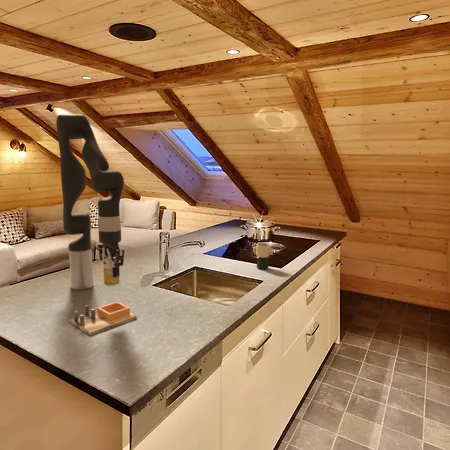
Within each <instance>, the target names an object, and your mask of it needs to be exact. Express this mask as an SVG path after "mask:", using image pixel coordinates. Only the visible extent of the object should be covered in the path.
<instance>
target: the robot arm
mask: <svg viewBox="0 0 450 450" xmlns="http://www.w3.org/2000/svg"><path fill="white" fill-rule="evenodd" d="M55 125H56V126H55V127H56V134H57V139H58V140H57V141H58V149H59V156H60V159H59V161H60V181H61V182H60V183H61V190H62V201H63V205H62V207H63V213H62V214H63V215H62V222H63V230H64V231H63V232H64V234H66V235H68V236H69V235H73V236H74V235H81V237H79V238H78V239H76V240H73V241H71V242H69V243H68V257H69V259H68V260H69V272H70V274H69V275H70V286H71V289H72V290H75V291H76V290H78V291H81V290H88V289H91V288H92V287H94V271H93V253H92V243H91V242H92V239H91V238H92V237H91V236H92V235H91V215H90V213H88V212H73V209H74V207H75V204H76V202H77V201H78V200H79V199H80V197H81V196H82V194H83V193H84V191H85V189H86V186H87V175H86V169H85V167H84V166H83V164H82V163H81V161H80V160H79V159H78V158H77V156H76V155H75V153H74V152H73V151H72V148H71V145H70V144H71V143H70V140H82V139H83V140H84V144H83V147H82V150H81V158H82V162H84V164H85V166H86V168H87V170H88V171H89V176H90V184H91V187H92V188H93V189H94V191H96V192H100V193H103V192H104V193H105V192H109V194H108V196H106V197H103V198H101V199H99V200H98V201H97V213H98V214H97V215H98V220H97V221H98V222H97V226H98V227H97V228H98V242H99V243H98V244H97V250H98V256H99V261H101V262H102V264H103V265H104V264H106V263H105V258H107V257H109V259H110V261H111V262H112V266H113V277H114V278H116V277H119V276H120V274H121V273H120V268H121V267H123V266H124V260H125V250H124V249H120V247H119V243H121V242H122V223H121V215H120V210H121V209H120V203H121V198H122V193H123V189H124V185H125V180H124V176H123V174H122V172H120V171H119V170H109V168H110V163H109V161H108V160H107V159H106V157H105V155H104V154H103V152H102V150H101V149H100V147H99V144H98V141H97V139H96V137H95V136H96V135H95V134H94V131H93V128H92V126H91V124H90V121H89V119H88V118H87V117H86V116H85V115H84V114H80V113H62V114H58V115H57V117H56V123H55ZM113 257H116V258H113ZM115 260H116V261H115Z"/></svg>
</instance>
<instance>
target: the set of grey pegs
mask: <svg viewBox="0 0 450 450" xmlns="http://www.w3.org/2000/svg"><path fill="white" fill-rule="evenodd" d="M95 311H96V309H95V308H92V309H91V308H90V305H88V304H86V305H84V314H80V315H79V311H78V310H74V311H73V318H74V321H75V322H76V323H78V324H79V325H81V326H84V325H85V323H84V315H86V316H87V317H89V318H91V319H92V320H93V319H96V317H95ZM90 313H91V314H90ZM78 317H80V320H79V319H78Z"/></svg>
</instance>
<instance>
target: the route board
mask: <svg viewBox="0 0 450 450" xmlns="http://www.w3.org/2000/svg"><path fill="white" fill-rule="evenodd" d="M115 311H118V309H116V310H112V311H109V313H112V312H115ZM89 313H90V314H91V312H89ZM83 315H84V323H85V325H84V326H81V325H79V324H78V323H76V322H75V321H74V317H73V318H71V319H69V322H70V324H72V325H74V326H75V327H77V328H78V329H80V330H81V331H82V332H84V333H85V334H87V335H88V336H92V335H95V334H98V333H100V332H103V331H106V330H109V329H111V328H114V327H117V326H120V325H123V324H125V323H127V322H131V321H133V320H137V318H138V317H137V316H138V315H136V314H134V313H132V312H130V314H129V315H126V316H123V317H120V318H118V319H115V320H112V321H108V320H107V319H105V318H103V317H101V316H100V315H98V310H95V317H96V319H93V320H92V319H91V318H89V317H87V316H86V315H85V314H83ZM78 319H79V320H80V316H78Z"/></svg>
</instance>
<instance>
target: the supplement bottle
mask: <svg viewBox="0 0 450 450" xmlns="http://www.w3.org/2000/svg"><path fill="white" fill-rule="evenodd" d="M113 258H116V257H113ZM115 261H116V260H115ZM105 263H106V264H104V263H103V282H104V283H103V284H104V285H105V286H106V287H117V286H118V285H120V276H119V277H116V278H114V277H113V266H112V262H111V261H110V259H109V257H107V258H105Z"/></svg>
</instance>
